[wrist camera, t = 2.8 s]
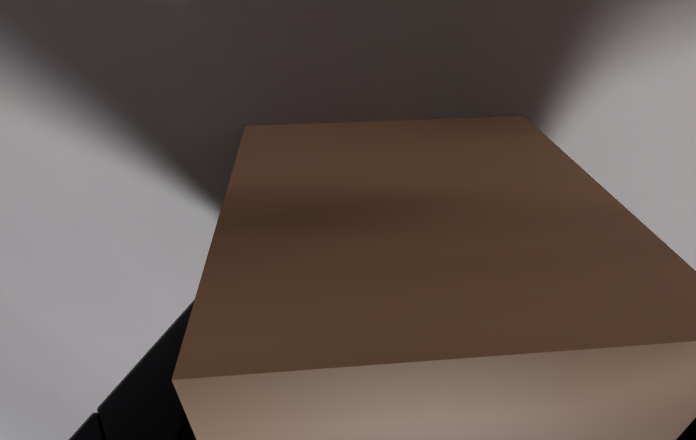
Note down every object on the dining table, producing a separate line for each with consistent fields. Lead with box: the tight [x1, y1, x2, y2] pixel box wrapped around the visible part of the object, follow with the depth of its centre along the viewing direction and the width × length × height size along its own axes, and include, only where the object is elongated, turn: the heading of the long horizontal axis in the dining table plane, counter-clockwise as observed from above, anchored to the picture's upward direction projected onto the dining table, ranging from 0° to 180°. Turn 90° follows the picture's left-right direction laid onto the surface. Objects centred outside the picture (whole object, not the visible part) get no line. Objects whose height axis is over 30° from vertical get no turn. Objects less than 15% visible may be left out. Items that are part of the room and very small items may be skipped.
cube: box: [172, 116, 696, 440], centre depth 7 cm, size 5×5×5 cm
